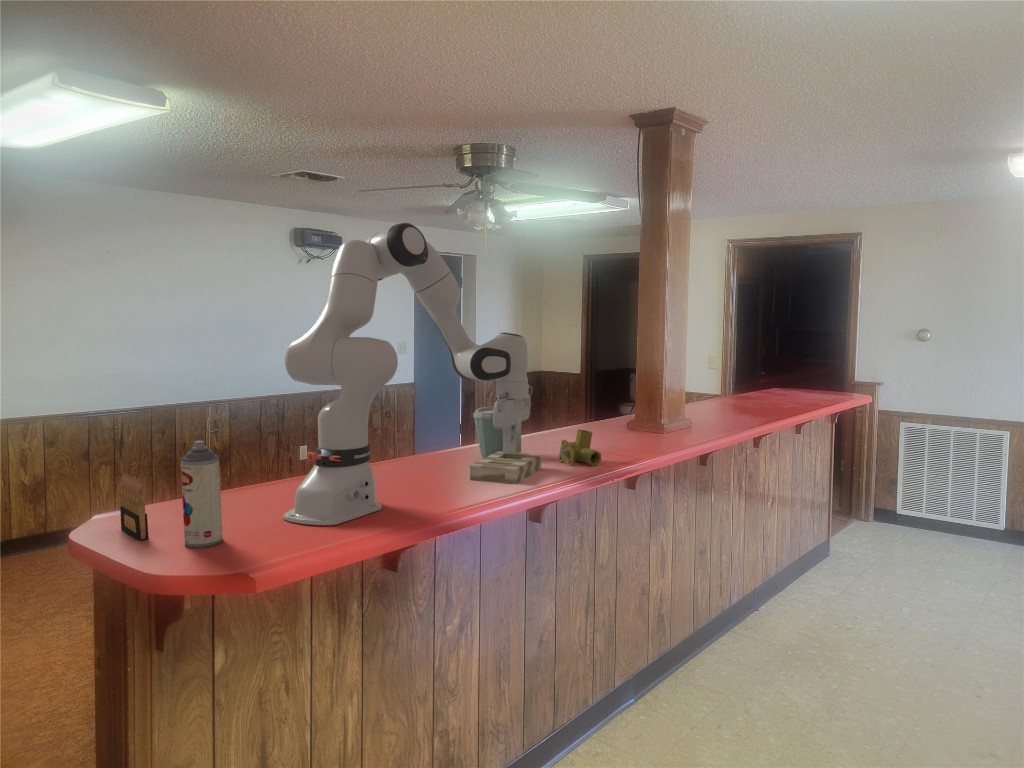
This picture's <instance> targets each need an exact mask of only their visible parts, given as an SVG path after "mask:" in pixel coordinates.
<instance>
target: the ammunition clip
mask: <svg viewBox="0 0 1024 768" xmlns="http://www.w3.org/2000/svg"><path fill="white" fill-rule="evenodd" d="M120 499H121V500H120V503H121V505H120V507H119V511H120V530H121V531H122V532H123V533H125V534H127V535H128V536H130V537H131V538H133V539H135V540H137V541H138V542H140V541H145V540H149V539H150V537H149V525H148V514H147V513H146V501H145V496H144V488H143V483H142V482H141V479H138V478H135V477H134V476H131V475H129V474H126V473H125V472H123V473H122V477H121V492H120Z"/></svg>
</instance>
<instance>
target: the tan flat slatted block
mask: <svg viewBox="0 0 1024 768" xmlns="http://www.w3.org/2000/svg"><path fill="white" fill-rule="evenodd" d="M541 469H542V454H540V453H539V454H537V453H528V452H527V453H525V452H520V453H518V454H503V452H500V451H498V452H496V453H494V454H492V455H490V456H488V457H486V458H481V459H480V460H478V461H476V462H474V463H471V464H470V465H469V480H470V481H477V482H488V483H489V482H490V483H491V482H492V483H499V484H500V483H501V484H502V483H503V484H512V485H513V484H514V485H517V484H519V483H520V482H522V481H524V480H525V479H526V478H528V477H530V476H531V475H533V474H534V473H536V472H538V471H540V470H541Z"/></svg>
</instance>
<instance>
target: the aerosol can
mask: <svg viewBox="0 0 1024 768" xmlns="http://www.w3.org/2000/svg"><path fill="white" fill-rule="evenodd" d="M180 470H181V471H180V475H181V494H182V495H181V496H182V515H183V530H184V531H183V535H184V547H186V548H189V549H204V548H205V549H206V548H211V547H214V546H218V545H219V544H222V543H223V540H224V539H223V519H222V518H223V517H222V497H221V496H222V495H221V493H222V492H221V474H220V472H221V471H220V470H221V469H220V459H219V455H217V454H215V453H214V452H213V450H211V449H209V447H207V446H206V445H205V441H204V440H195V441H194V445H193V447H192V448H191V449H190V450H189V451H188V452H186V454H185V455H184V456H183V457H181V461H180Z"/></svg>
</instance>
